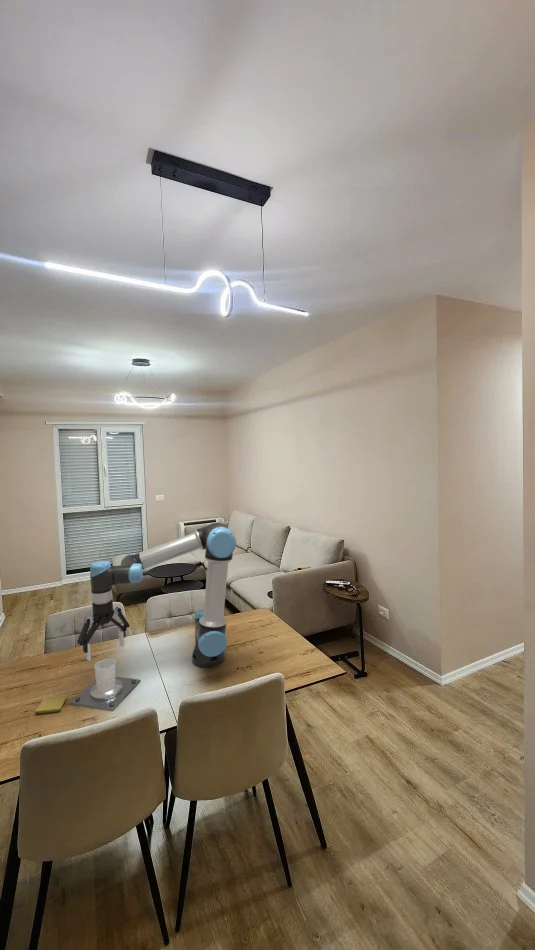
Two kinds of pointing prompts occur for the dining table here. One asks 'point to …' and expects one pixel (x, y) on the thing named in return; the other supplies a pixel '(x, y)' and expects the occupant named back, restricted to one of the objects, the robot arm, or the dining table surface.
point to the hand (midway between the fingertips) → (105, 652)
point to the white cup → (105, 675)
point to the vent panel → (105, 694)
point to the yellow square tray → (51, 704)
